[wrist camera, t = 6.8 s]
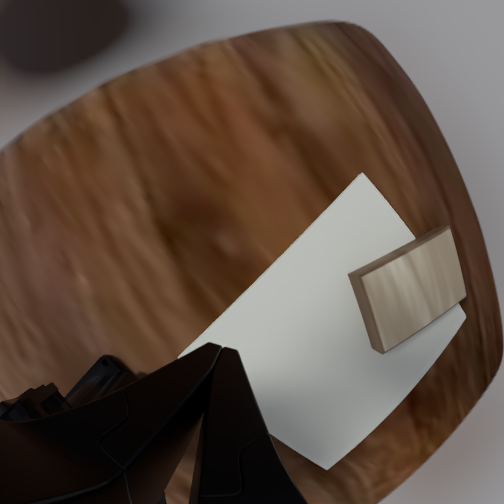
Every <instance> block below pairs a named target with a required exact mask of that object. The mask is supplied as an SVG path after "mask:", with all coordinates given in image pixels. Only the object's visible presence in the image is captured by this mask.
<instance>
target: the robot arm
mask: <svg viewBox="0 0 504 504" xmlns="http://www.w3.org/2000/svg"><path fill="white" fill-rule="evenodd" d="M104 360H107V361H108V364H105V362H104ZM203 413H204V415H203ZM202 416H203V419H202V424H201V430H200V436H199V442H198V448H197V454H196V460H195V466H194V473H193V479H192V486H191V492H190V499H189V504H308V503H307V502H306V500H305V499H304V497H303V496H302V494H301V493H300V491H299V490H298V488H297V486H296V485H295V483H294V482H293V480H292V478H291V477H290V475H289V473H288V472H287V470H286V468H285V466H284V465H283V463H282V461H281V459H280V457H279V454H278V452H277V450H276V448H275V446H274V443H273V441H272V438H271V436H270V434H268V433H269V431H268V429H267V426H266V423H265V421H264V418H263V416H262V413H261V411H260V408H259V405H258V403H257V400H256V398H255V395H254V392H253V390H252V387H251V384H250V382H249V379H248V376H247V373H246V371H245V368H244V365H243V362H242V360H241V357H240V354H239V352H238V350H236V349H233V348H229V347H222V346H221V345H218V344H215V343H212V342H207V343H206V344H204V345H202V346H200V347H198V348H197V349H195V350H193V351H191V352H189V353H188V354H186V355H184V356H182V357H180V358H178V359H177V360H175V361H173V362H171V363H169V364H167V365H165V366H164V367H162V368H160V369H158V370H156V371H154V372H152V373H150V374H148V375H146V376H144V377H143V378H141V379H139V380H136V379H135V378H134V377H133V376H132V375H131V374H130V373H129V372H126V371H125V370H123V369H122V368H121V367H120V366H119V365H118V364H117V363H116V362H115V361H114V360H113V359H112V358H111V357H110V356H109V355H103V356H102V357H100V358H99V360H98V361H97V362H96V363H95V364H94V365H93V366H92V367H91V368H90V369H89V371H88V372H87V373H86V374H85V375H84V376H83V377H82V378H81V379H80V381H79V382H78V383H77V384H76V385H75V386H74V387H73V388H72V390H71V391H70V392H69V393H68V394H67V395H66V396H65V398H64V397H63V396H62V395H61V394H60V393H59V391H58V388H57V387H56V386H55V385H54V383H53V382H52V383H50V384H48V385H47V386H44V384H43V385H41V386H40V387H38V388H36V389H32V388H30V389H28V390H27V391H26V392H24V393H23V394H21V395H20V396H19V397H17V398H14V399H10V400H5V401H2V402H1V403H0V504H167V503H166V499H165V493H164V490H165V488H166V487H167V485H168V483H169V481H170V479H171V477H172V475H173V473H174V471H175V470H176V468H177V466H178V464H179V462H180V460H181V458H182V456H183V454H184V452H185V450H186V448H187V446H188V444H189V443H190V441H191V439H192V437H193V435H194V433H195V431H196V429H197V427H198V425H199V423H200V421H201V418H202Z"/></svg>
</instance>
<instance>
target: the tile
mask: <svg viewBox="0 0 504 504" xmlns="http://www.w3.org/2000/svg"><path fill="white" fill-rule="evenodd" d="M348 277H349V280H350V283H351V285H352V288H353V291H354V294H355V297H356V300H357V303H358V306H359V309H360V312H361V315H362V318H363V321H364V324H365V327H366V330H367V334H368V337H369V340H370V343H371V347H372V349H374V350H375V351H377V352H379V353H380V354H382V355H383V354H385V353H386V352H388V351H389V350H391V349H393V348H394V347H396V346H397V345H399V344H401V343H402V342H404V341H405V340H407V339H408V338H410V337H411V336H413V335H414V334H416V333H417V332H419V331H420V330H422V329H423V328H425V327H426V326H428V325H429V324H431V323H432V322H433V321H435V320H436V319H438V318H439V317H440V316H442V315H443V314H444V313H446V312H447V311H448V310H450V309H451V308H452V307H454V306H455V305H456V304H458V303H459V302H460V301H462V300H463V299H464V298H465V297H467V296H466V291H465V286H464V281H463V276H462V272H461V267H460V263H459V259H458V255H457V251H456V248H455V244H454V240H453V237H452V233H451V230H450V227H449V226H443V227H436V228H434V229H433V230H431V231H429V232H427V233H425V234H424V235H422V236H420V237H418V238H416V239H414V240H413V241H411V242H409V243H407V244H405V245H403V246H401V247H399V248H398V249H396V250H394V251H392V252H390V253H388V254H386V255H384V256H382V257H380V258H378V259H376V260H374V261H372V262H371V263H369V264H367V265H365V266H363V267H361V268H359V269H357V270H355V271H353V272H350V273H348Z"/></svg>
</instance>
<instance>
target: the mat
mask: <svg viewBox="0 0 504 504" xmlns="http://www.w3.org/2000/svg"><path fill="white" fill-rule="evenodd" d="M414 239H416V238H415V237H414V235H413V234H412V233H411V231H410V230H409V229H408V227H407V226H406V225H405V223H404V222H403V221H402V220H401V218H400V217H399V216H398V214H397V213H396V212H395V211H394V209H393V208H392V207H391V206H390V204H389V203H388V202H387V201H386V199H385V198H384V197H383V196H382V195H381V193H380V192H379V191H378V190H377V189H376V187H375V186H374V185H373V184H372V183H371V182H370V181H369V179H368V178H367V177H366V176H365V175H364V174H363V173H361V174H360V175H358V176H357V177H356V179H355V180H354V181H353V182H352V183H351V184H350V185H349V186H348V187H347V188H346V189H345V190H344V191H343V192H342V193H341V194H340V195H339V196H338V197H337V198H336V200H335V201H334V202H333V203H332V204H331V205H330V206H329V207H328V208H327V209H326V210H325V211H324V212H323V213H322V214H321V215H320V216H319V217H318V218H317V219H316V220H315V221H314V222H313V223H312V224H311V225H310V226H309V227H308V228H307V229H306V230H305V232H304V233H303V234H302V235H301V236H300V237H299V238H298V239H297V240H296V241H295V242H294V243H293V244H292V245H291V246H290V247H289V248H288V249H287V250H286V251H285V252H284V253H283V254H282V255H281V256H280V257H279V258H278V259H277V260H276V261H275V262H274V263H273V264H272V265H271V266H270V267H269V268H268V269H267V270H266V271H265V272H264V273H263V274H262V275H261V276H260V277H259V278H258V279H257V280H256V281H255V282H254V283H253V284H252V285H251V286H250V287H249V288H248V289H247V290H246V291H245V292H244V293H243V294H242V295H241V296H240V297H239V298H238V299H237V300H236V301H235V302H234V303H233V304H232V305H231V306H230V307H229V308H228V309H227V310H226V311H225V312H224V313H223V314H222V315H221V316H220V317H219V318H217V319H216V320H215V321H214V322H213V323H212V324H211V325H210V326H209V327H208V328H207V329H206V330H205V331H204V332H203V333H202V334H201V335H200V336H199V337H198V338H197V339H196V340H195V341H194V342H193V343H192V344H191V345H190V346H189V347H188V348H186V349H185V350H184V351H183V352H182V353H181V354H180V355H179V357H178V358H180V357H182V356H184V355H186V354H188V353H189V352H191V351H193V350H195V349H197V348H198V347H200V346H202V345H204V344H206V343H207V342H212V343H215V344H218V345H221V346H222V347H229V348H233V349H236V350H238V352H239V354H240V357H241V360H242V362H243V365H244V368H245V371H246V373H247V376H248V379H249V382H250V384H251V387H252V390H253V392H254V395H255V398H256V400H257V403H258V405H259V408H260V411H261V413H262V416H263V418H264V421H265V423H266V426H267V429H268V431H269V433H270V434H271V435H273V436H274V437H276V438H277V439H279V440H280V441H281V442H283V443H284V444H286V445H287V446H289V447H290V448H292V449H293V450H295V451H296V452H298V453H300V454H301V455H303V456H304V457H306V458H307V459H309V460H311V461H312V462H314V463H316V464H317V465H319V466H320V467H322V468H324V469H326V470H328V469H329V468H330V467H332V466H333V465H334V464H335V463H336V462H338V461H339V460H340V459H341V458H343V457H344V456H345V455H346V454H347V453H348V452H350V451H351V450H352V449H353V448H354V447H355V446H357V445H358V444H359V443H360V442H361V441H362V440H363V439H364V438H365V437H366V436H368V435H369V434H370V433H371V432H372V431H373V430H374V429H375V428H376V427H377V426H378V425H379V424H380V423H381V422H382V421H383V420H384V419H385V418H386V417H387V416H388V415H389V414H390V413H391V412H392V411H393V410H394V409H395V408H396V407H397V406H398V405H399V403H400V402H401V401H402V400H403V399H404V398H405V397H406V396H407V395H408V394H409V392H410V391H411V390H412V389H413V388H414V387H415V386H416V384H417V383H418V382H419V381H420V380H421V378H422V377H423V376H424V375H425V374H426V372H427V371H428V370H429V369H430V367H431V366H432V365H433V364H434V362H435V361H436V360H437V358H438V357H439V356H440V354H441V353H442V352H443V350H444V349H445V348H446V346H447V345H448V344H449V342H450V341H451V339H452V338H453V337H454V335H455V334H456V332H457V331H458V329H459V328H460V326H461V325H462V323H463V322H464V320H465V319H466V315H465V313H464V311H463V310H462V308H461V306H460V305H459V303H458V304H456V305H455V306H454V307H452V308H451V309H450V310H448V311H447V312H446V313H444V314H443V315H442V316H440V317H439V318H438V319H436V320H435V321H433V322H432V323H431V324H429V325H428V326H426V327H425V328H423V329H422V330H420V331H419V332H417V333H416V334H414V335H413V336H411V337H410V338H408V339H407V340H405V341H404V342H402V343H401V344H399V345H397V346H396V347H394V348H393V349H391V350H389V351H388V352H386V353H385V354H383V355H382V354H380V353H379V352H377V351H375V350H374V349H372V347H371V343H370V340H369V337H368V334H367V330H366V327H365V324H364V321H363V318H362V315H361V312H360V309H359V306H358V303H357V300H356V297H355V294H354V291H353V288H352V285H351V283H350V280H349V277H348V273H350V272H353V271H355V270H357V269H359V268H361V267H363V266H365V265H367V264H369V263H371V262H372V261H374V260H376V259H378V258H380V257H382V256H384V255H386V254H388V253H390V252H392V251H394V250H396V249H398V248H399V247H401V246H403V245H405V244H407V243H409V242H411V241H413V240H414Z"/></svg>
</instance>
